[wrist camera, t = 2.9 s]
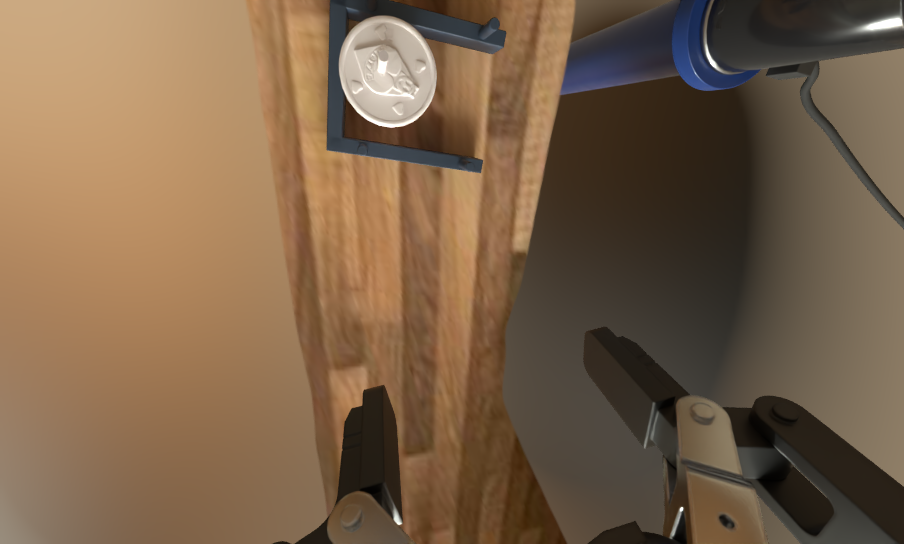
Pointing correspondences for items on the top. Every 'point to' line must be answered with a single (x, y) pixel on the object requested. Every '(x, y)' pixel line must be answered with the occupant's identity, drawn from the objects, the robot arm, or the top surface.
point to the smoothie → (387, 71)
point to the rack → (364, 3)
